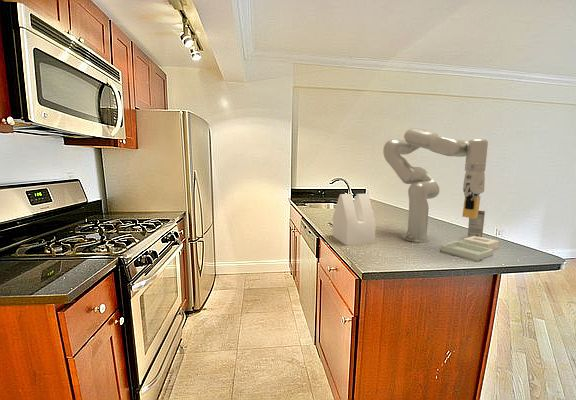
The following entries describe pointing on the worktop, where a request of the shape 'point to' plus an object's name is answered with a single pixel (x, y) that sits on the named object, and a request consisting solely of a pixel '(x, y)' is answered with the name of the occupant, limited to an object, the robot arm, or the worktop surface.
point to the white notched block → (354, 220)
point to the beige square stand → (482, 242)
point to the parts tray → (466, 250)
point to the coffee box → (476, 225)
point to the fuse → (472, 212)
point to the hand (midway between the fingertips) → (471, 208)
